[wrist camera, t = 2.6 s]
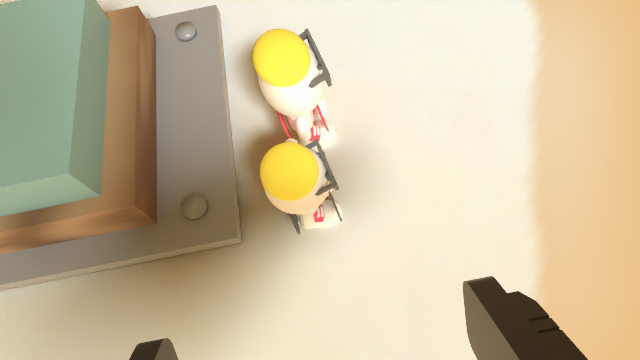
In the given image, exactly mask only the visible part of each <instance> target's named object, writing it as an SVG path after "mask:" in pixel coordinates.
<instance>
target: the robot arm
mask: <svg viewBox="0 0 640 360" xmlns="http://www.w3.org/2000/svg"><path fill="white" fill-rule="evenodd" d="M463 295H464V305H465V315H466V326H467V333H468V337H469V341H470V344H471V347H472V349H473V352H474V354H475V356H476V357H477V359H478V360H588V359H587V358H586V357H585V356H584V355H583V354H582V352H581V351H580V350H579V349H578V348H577V347H576V346H575V344H574V343H573V342H572V341H571V340H570V339H569V338H568V337H567V336H566V334H565V333H564V332H563V331H562V330H560V329H559V326H558V325H557V324H556V323H555V322H554V321H553V320H552V318H549V315H548V314H547V313H546V312H545V311H544V309H543V308H542V307H541V306H540V305H539V304H538V303H537V302H536V301H535V300H533V299H531V298H529V297H527V296H526V295H524V294H522V293H520V292H519V291H517V292H512V293H506V292H505V290H504V289H503V288H502V287H501V285H500V284H499V283H498V282H497V280H496V279H495V278H494V277H492V276H490V277H485V278H480V279H474V280H469V281H464V283H463ZM129 360H178V358H177V355H176V352H175V350H174V347H173V345H172V342H171V341H170V340H169V339H168V338H165V339H160V340H155V341H150V342H145V343H140V344H138V345H137V346H136V348H135V350H134V352H133V354H132V355H131V357H130V359H129Z"/></svg>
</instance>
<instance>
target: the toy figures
mask: <svg viewBox="0 0 640 360" xmlns="http://www.w3.org/2000/svg"><path fill="white" fill-rule="evenodd" d="M305 39H307V40H308V43H309V46H310V47H309V46H308V45H307V44H306V43H305V42H304V40H305ZM252 57H253V64H254V67H255V70H256V72H257V77H258V83H259V86H260V89H261V91H262V94H263V96H264V97H265V99H266V100H267V102H268V103H269V104H270V105H271V106H272V107H273V108H274V109H275V110H276V111H277V112H278V116H279V119H280V121H281V123H282V125H283V128H284V130H285V132H286V134H287V136H288V139H287V140H286V141H285V142H284V143H281V144H278V145H276V146H274V147H272V148H271V149H270V150H269V151H268V152H267V153H266V154H265V156H264V157H263V159H262V162H261V165H260V178H261V182H262V184H263V187H264V190H265V193H266V195H267V197H268V199H269V200H270V201H271V203H272V204H273V205H274V206H275V207H277V208H278V209H280V210H281V211H283V212H286V213H288V214H289V216H290V218H291V220H292V222H293V224H294V227H295V229H296V231H297V233H298V234H300V230H299V229H300V228H299V226H298V223H297V222H298V219H297V216H299V219H300V223H301V225H302V227H303V228H305V229H311V228H312V227H323V228H330V227H332V226H334V225H336V224H337V223H338V222H339V221H342V219H341V217H342V209H341V207H340V205H339V204H338V203H337V202H336V201H334V199H333V197H332V194H331V192H332V190H333V188H335V190H338V189H339V188H338V185H337V183H336V181H335V178H334V176H333V174H332V171H331V169H330V167H329V165H328V162H327V160H326V158H325V154H324V152H323V151H322V149H325V148H329V147H330V146H332V145H333V144H334V143H335V141H336V138H337V131H336V129H335V127H334V125H333V124H332V123H331V122H330V121H327V120H325V119H324V117H325V115H326V114H327V111H328V106H327V103H326V101H325V99H324V98H323V97H322V92H323V81H324V80H326V82H327V84H328V86H331V85H332V84H331V79H330V74H329V72H328V70H327V68H326V65H325V63H324V61H323V59H322V57H321V55H320V53H319V51H318V49H317V47H316V45H315V42H314V41H313V39H312V37H311V35H310V33H309V31H308V29H305V32H303V33H302V34H300V35H299V36H298V35H296V34H295V33H293V32H291V31H289V30H285V29H273V30H270V31H267V32H266V33H264V34H263V35H261V36H260V37H259V39H258V40H257V41H256V43H255V46H254V49H253V56H252ZM282 114H283V115H286V118H287V121H288V123H289V125H290V126H291V128H292V129H293V130H295V131H296V132H297V134H298V137H299V139H300V142H301V143H302V144H303V145H304V146H303V145H300V144H298V143H297V141H296V140H295V139H293V138H291V137H290V133H289V130H288V128H287V126H286V123H285V121H284V118H283V115H282ZM314 121H316V122H315V123H314V124H313V122H314ZM316 147H317V148H318V150H319V152H320V153H317V152H315V151H314V150H312V149H311V148H316ZM328 196H330V198H331V200H329V199H328V200H325V198H326V197H328ZM296 215H297V216H296Z"/></svg>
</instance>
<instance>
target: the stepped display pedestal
mask: <svg viewBox="0 0 640 360" xmlns="http://www.w3.org/2000/svg"><path fill="white" fill-rule="evenodd" d="M238 243H242V236H241V226H240V216H239V206H238V195H237V185H236V175H235V165H234V154H233V144H232V134H231V123H230V113H229V103H228V93H227V82H226V72H225V62H224V52H223V41H222V31H221V21H220V13H219V11H218V8H217V6H216V5H213V6H209V7H204V8H199V9H194V10H189V11H185V12H180V13H175V14H170V15H165V16H160V17H156V18H151V19H146V18H145V17H144V15H143V13H142V12H141V10H140V8H139V7H138V6H134V7H129V8H125V9H120V10H115V11H110V12H105V13H104V11H103V10H102V8H101V7H100V6H99V4H98V3H97V1H96V0H20V1H15V2H11V3H6V4H1V5H0V291H2V290H7V289H12V288H17V287H22V286H27V285H32V284H37V283H42V282H47V281H52V280H57V279H62V278H67V277H72V276H77V275H82V274H87V273H92V272H97V271H102V270H107V269H112V268H117V267H122V266H127V265H132V264H137V263H142V262H147V261H152V260H157V259H162V258H167V257H172V256H177V255H182V254H187V253H192V252H197V251H202V250H207V249H212V248H217V247H222V246H227V245H232V244H238Z"/></svg>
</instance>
